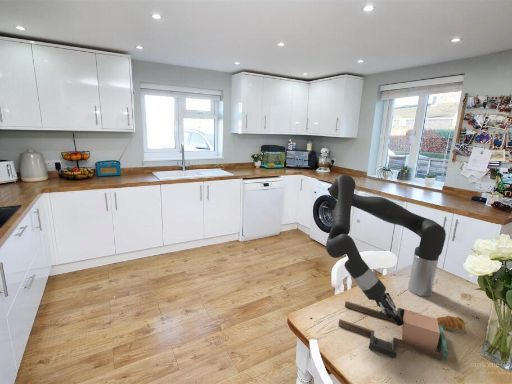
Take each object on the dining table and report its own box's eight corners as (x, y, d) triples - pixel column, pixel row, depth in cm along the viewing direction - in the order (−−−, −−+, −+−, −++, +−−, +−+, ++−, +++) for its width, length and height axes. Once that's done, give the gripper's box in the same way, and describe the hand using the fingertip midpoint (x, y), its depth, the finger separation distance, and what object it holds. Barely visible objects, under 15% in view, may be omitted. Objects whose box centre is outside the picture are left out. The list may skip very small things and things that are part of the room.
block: (401, 327, 102) (404, 309, 100) (433, 337, 97) (437, 318, 96) (401, 341, 95) (405, 322, 93) (435, 352, 90) (439, 333, 89)
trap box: (347, 297, 119) (348, 288, 118) (437, 323, 104) (439, 314, 103) (334, 336, 95) (335, 326, 94) (448, 378, 81) (451, 366, 80)
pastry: (440, 331, 100) (442, 322, 100) (431, 319, 107) (432, 310, 106) (467, 334, 100) (470, 325, 99) (456, 322, 106) (458, 313, 105)
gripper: (362, 279, 108) (392, 317, 105) (358, 296, 96) (391, 339, 93) (379, 270, 104) (410, 309, 101) (376, 287, 93) (411, 331, 90)
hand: (401, 324), depth 97 cm, fingers closed
